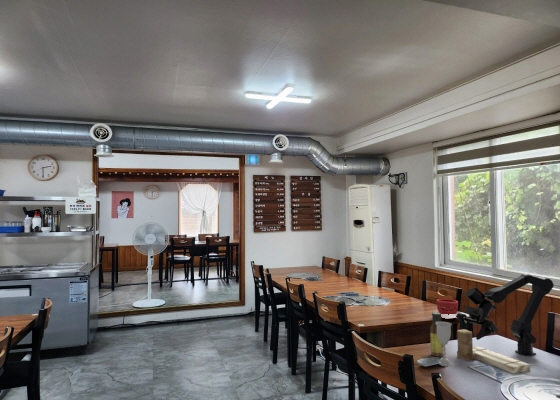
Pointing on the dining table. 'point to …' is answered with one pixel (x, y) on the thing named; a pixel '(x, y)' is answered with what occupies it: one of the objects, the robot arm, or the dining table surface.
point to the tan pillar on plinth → (465, 345)
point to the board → (500, 360)
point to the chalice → (444, 339)
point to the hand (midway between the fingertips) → (468, 336)
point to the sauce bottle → (435, 336)
